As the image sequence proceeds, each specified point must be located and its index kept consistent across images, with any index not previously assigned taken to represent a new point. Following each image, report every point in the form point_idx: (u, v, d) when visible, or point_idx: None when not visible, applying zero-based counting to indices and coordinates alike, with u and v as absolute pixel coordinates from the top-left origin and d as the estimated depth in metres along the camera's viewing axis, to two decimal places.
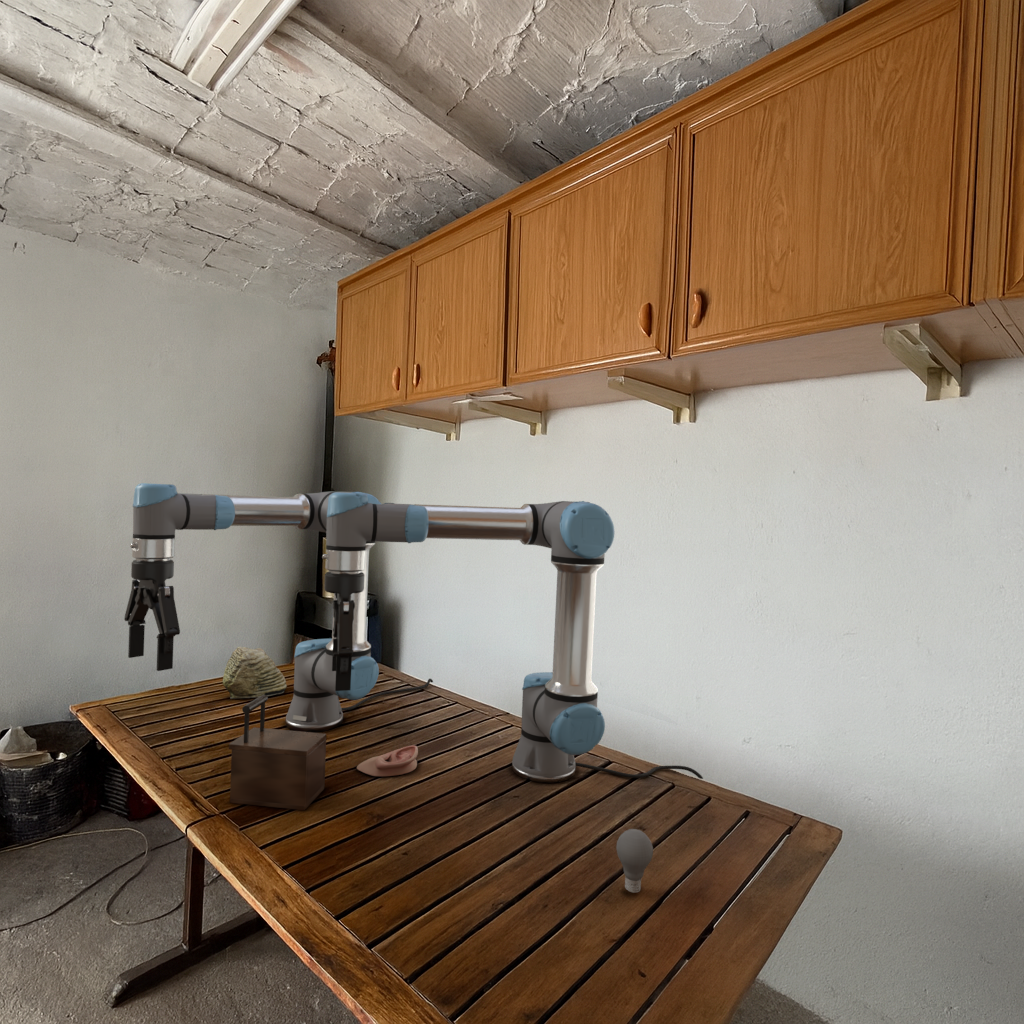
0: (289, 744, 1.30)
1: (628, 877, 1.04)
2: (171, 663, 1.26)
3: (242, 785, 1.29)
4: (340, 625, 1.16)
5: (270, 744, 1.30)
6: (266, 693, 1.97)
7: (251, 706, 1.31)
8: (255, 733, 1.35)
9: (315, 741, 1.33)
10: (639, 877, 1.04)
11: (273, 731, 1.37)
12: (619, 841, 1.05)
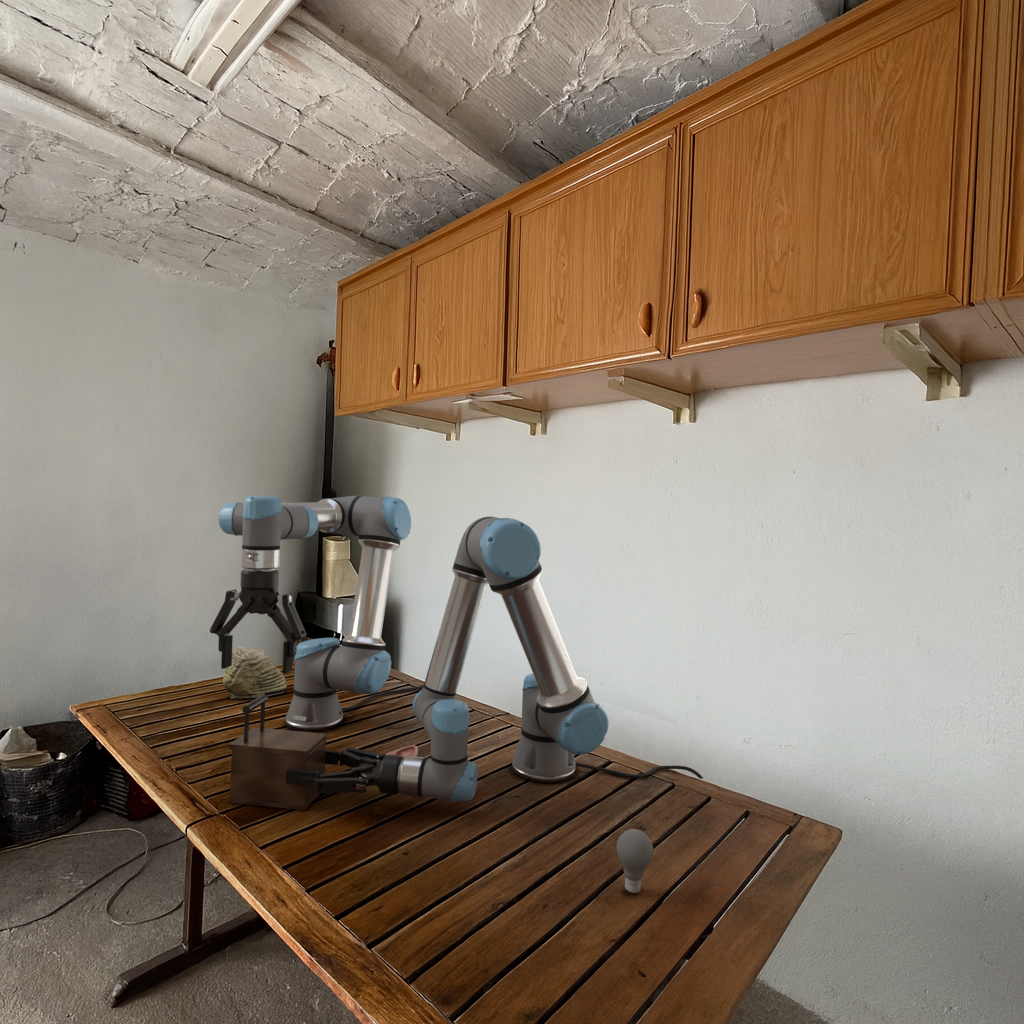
0: (289, 744, 1.30)
1: (628, 877, 1.04)
2: (291, 665, 1.34)
3: (242, 785, 1.29)
4: None
5: (270, 744, 1.30)
6: (266, 693, 1.97)
7: (251, 706, 1.31)
8: (255, 733, 1.35)
9: (315, 741, 1.33)
10: (639, 877, 1.04)
11: (273, 731, 1.37)
12: (619, 841, 1.05)
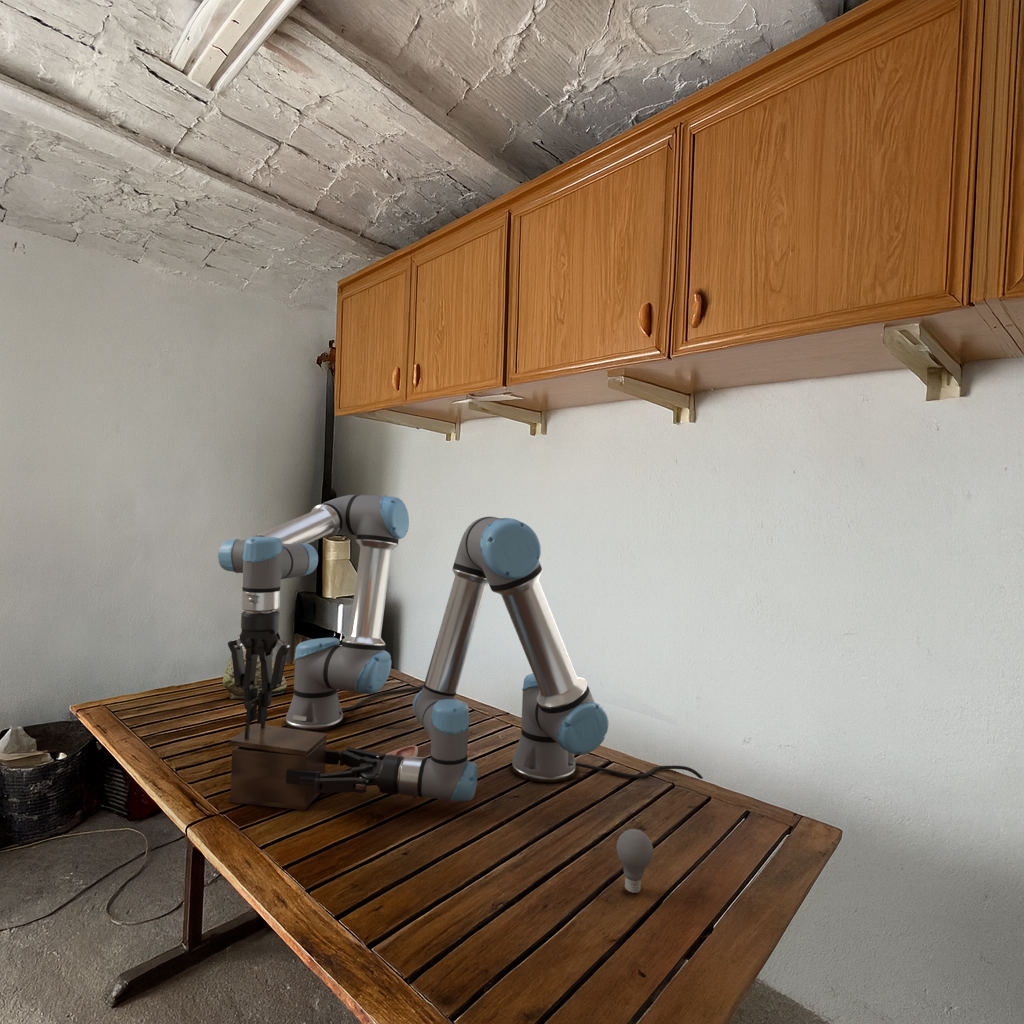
0: (290, 743, 1.30)
1: (628, 877, 1.04)
2: (266, 715, 1.35)
3: (243, 785, 1.29)
4: None
5: (271, 742, 1.30)
6: None
7: (253, 703, 1.31)
8: (256, 730, 1.36)
9: (315, 741, 1.33)
10: (639, 877, 1.04)
11: (274, 728, 1.37)
12: (619, 841, 1.05)
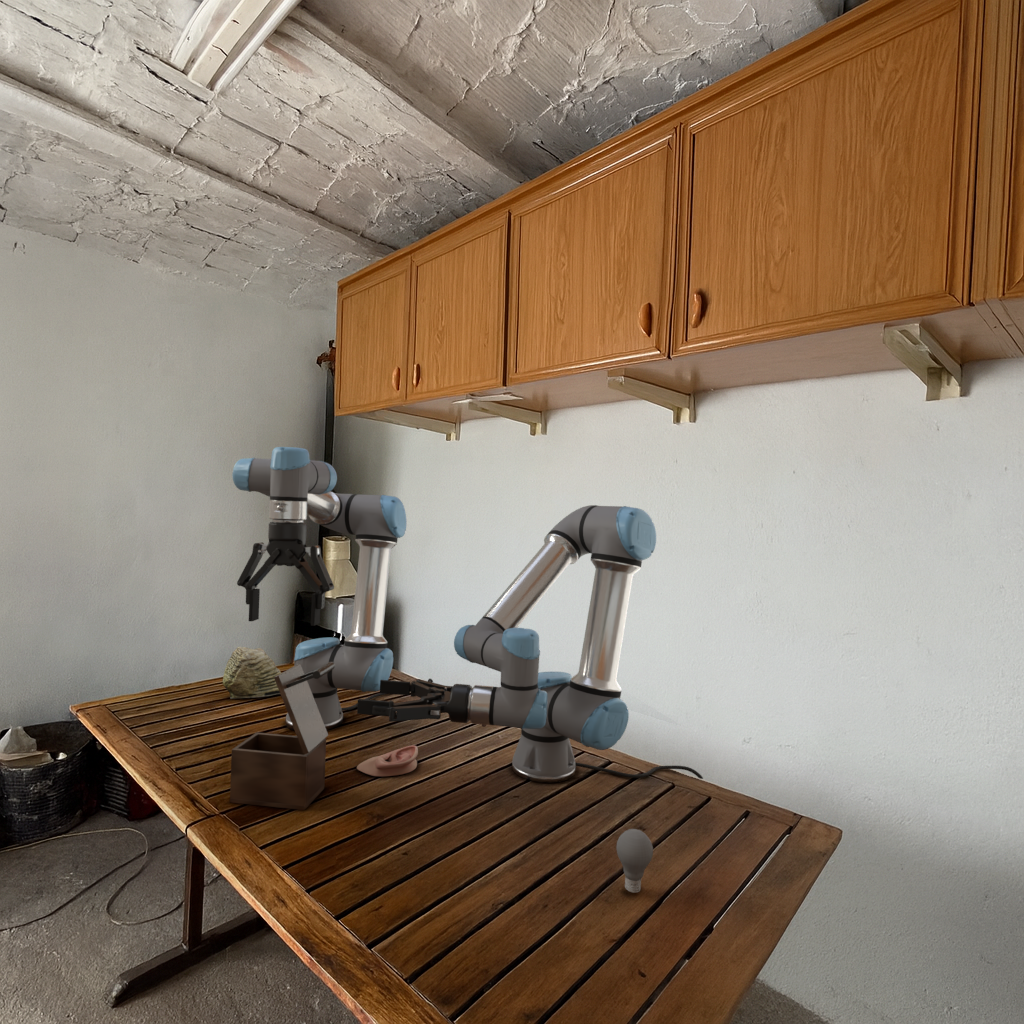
0: (305, 727, 1.30)
1: (628, 877, 1.04)
2: (319, 618, 1.33)
3: (242, 785, 1.29)
4: None
5: (296, 711, 1.29)
6: (266, 693, 1.97)
7: (320, 676, 1.29)
8: (297, 677, 1.34)
9: (318, 741, 1.33)
10: (639, 877, 1.04)
11: (306, 687, 1.36)
12: (619, 841, 1.05)
